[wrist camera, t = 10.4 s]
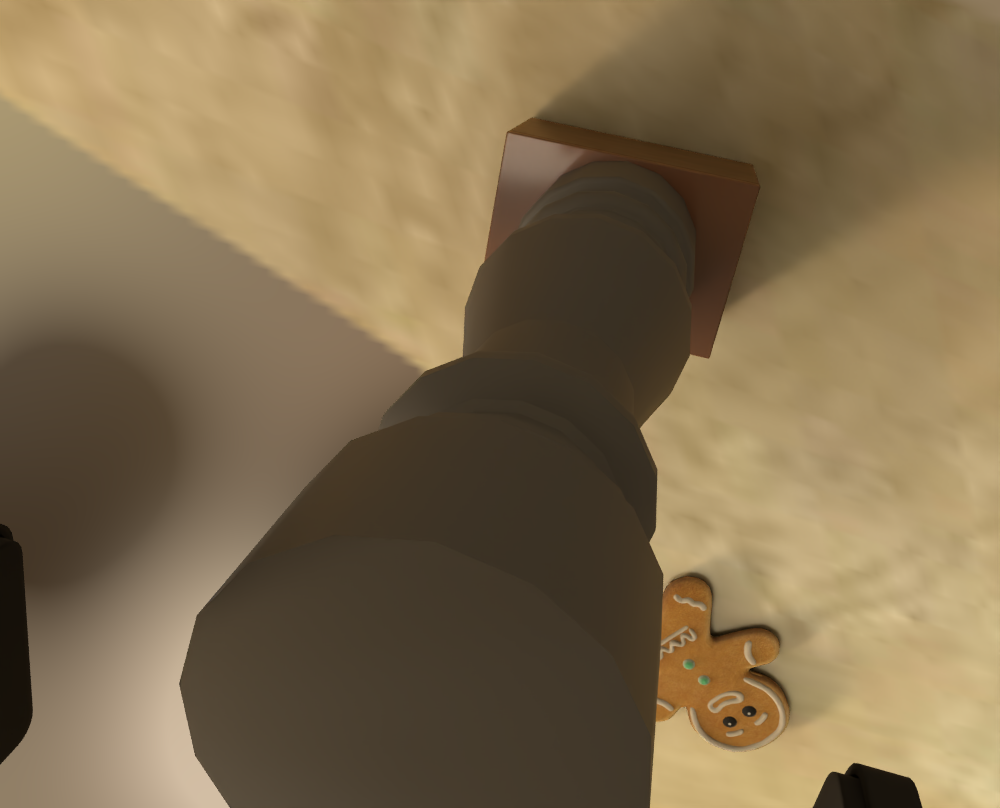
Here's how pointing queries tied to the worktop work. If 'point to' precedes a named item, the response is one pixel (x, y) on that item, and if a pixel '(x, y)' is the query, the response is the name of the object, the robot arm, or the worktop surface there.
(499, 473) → the candle holder
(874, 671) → the worktop surface
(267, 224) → the worktop surface
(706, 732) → the cookie
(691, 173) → the brown wooden block
